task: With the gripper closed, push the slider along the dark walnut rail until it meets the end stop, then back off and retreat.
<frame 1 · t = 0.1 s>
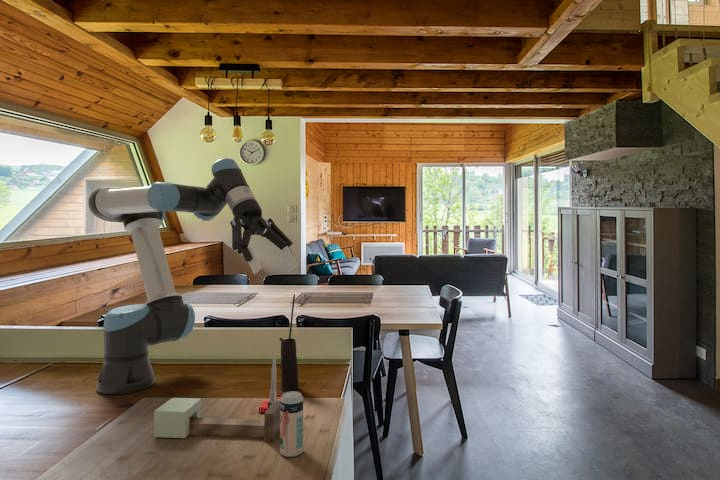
hand: (276, 269, 114), 36 cm above the kitchen counter, tool tilted 35°, fingers open, 13 cm apart
beer can: (291, 453, 89), on the kitchen counter
rail: (216, 432, 98), on the kitchen counter
butter churn: (286, 389, 126), on the kitchen counter
tow hook: (278, 407, 113), on the kitchen counter
slider: (178, 417, 98), point 3 cm above the kitchen counter, slide at 0.0 cm
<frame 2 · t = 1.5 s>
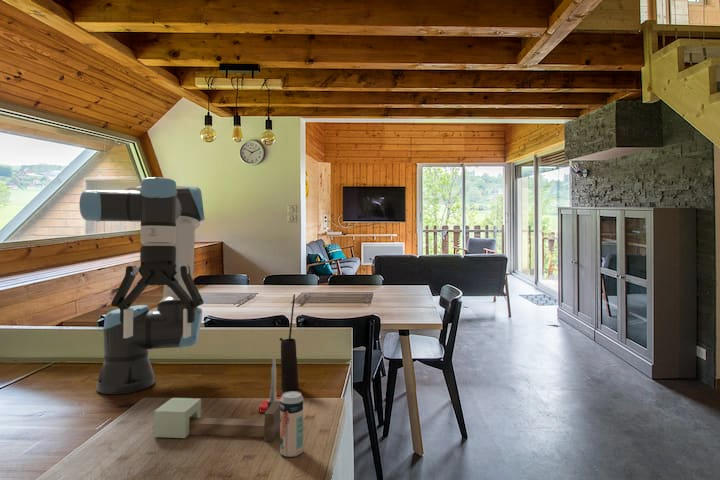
hand: (157, 337, 99), 21 cm above the kitchen counter, tool pointing down, fingers open, 13 cm apart
nothing on the kitchen counter moved.
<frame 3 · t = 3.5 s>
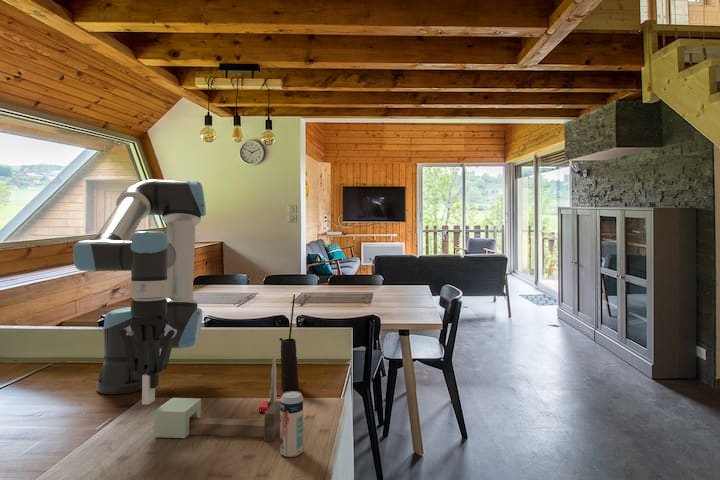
hand: (148, 402, 98), 7 cm above the kitchen counter, tool pointing down, fingers closed
nothing on the kitchen counter moved.
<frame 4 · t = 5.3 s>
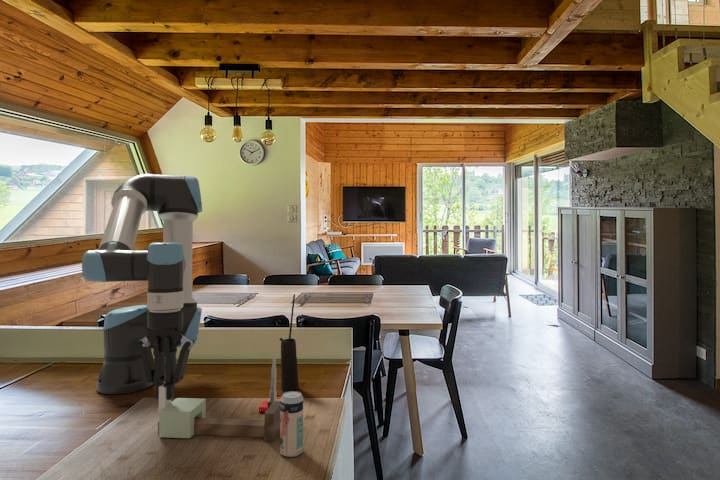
hand: (164, 413, 98), 4 cm above the kitchen counter, tool pointing down, fingers closed
slider: (183, 417, 98), point 3 cm above the kitchen counter, slide at 1.1 cm, touching gripper
everything else where it was.
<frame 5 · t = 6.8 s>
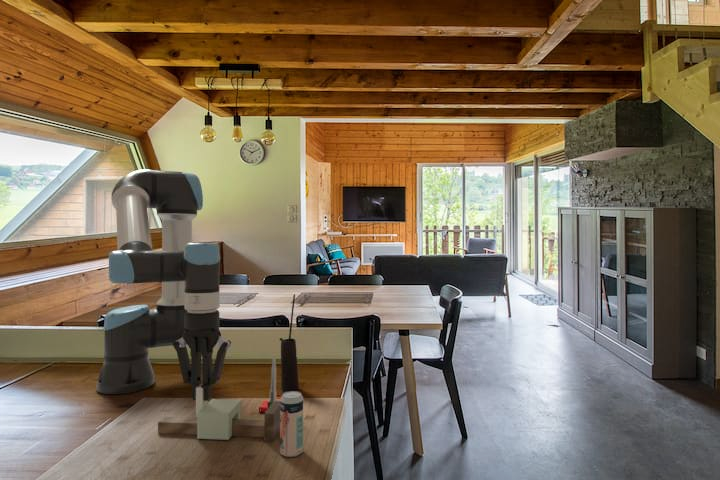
hand: (201, 414, 98), 4 cm above the kitchen counter, tool pointing down, fingers closed
slider: (220, 418, 98), point 3 cm above the kitchen counter, slide at 9.7 cm, touching gripper
everything else where it was.
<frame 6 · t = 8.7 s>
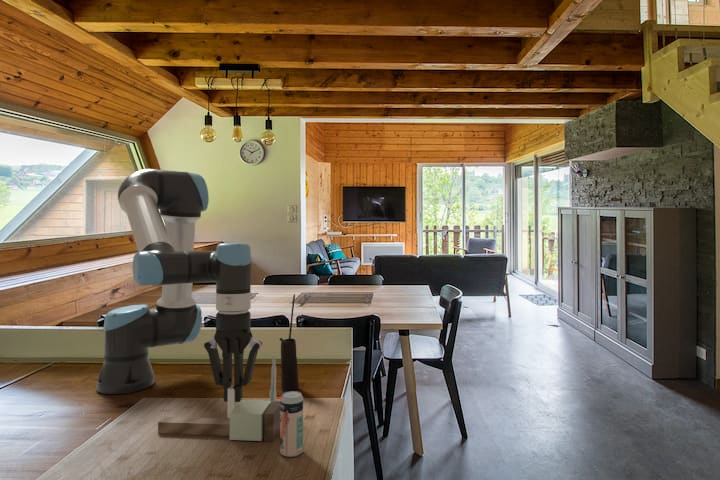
hand: (232, 415, 97), 4 cm above the kitchen counter, tool pointing down, fingers closed
slider: (251, 419, 97), point 3 cm above the kitchen counter, slide at 17.0 cm, touching gripper
everything else where it was.
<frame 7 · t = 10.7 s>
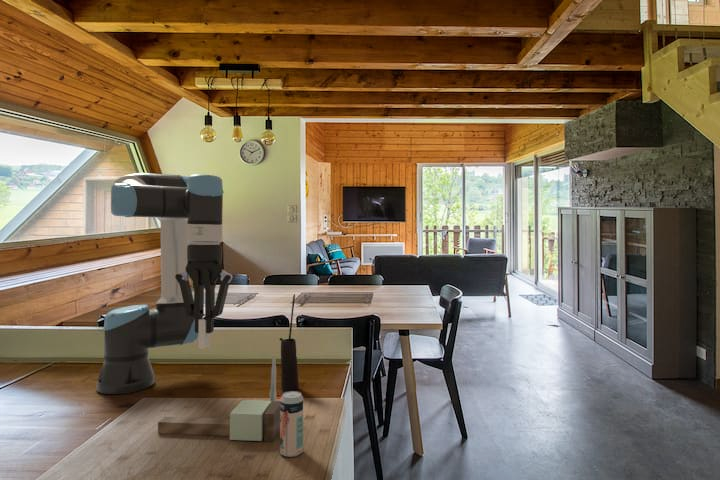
hand: (204, 346, 98), 19 cm above the kitchen counter, tool pointing down, fingers closed
slider: (251, 419, 97), point 3 cm above the kitchen counter, slide at 17.0 cm
everything else where it was.
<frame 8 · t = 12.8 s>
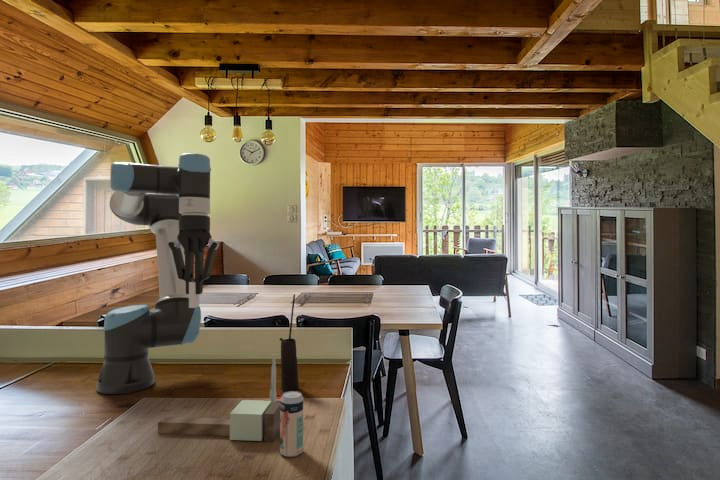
hand: (194, 306, 110), 26 cm above the kitchen counter, tool pointing down, fingers closed
nothing on the kitchen counter moved.
at the end: slider slide at 17.0 cm; the gripper is holding nothing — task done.
